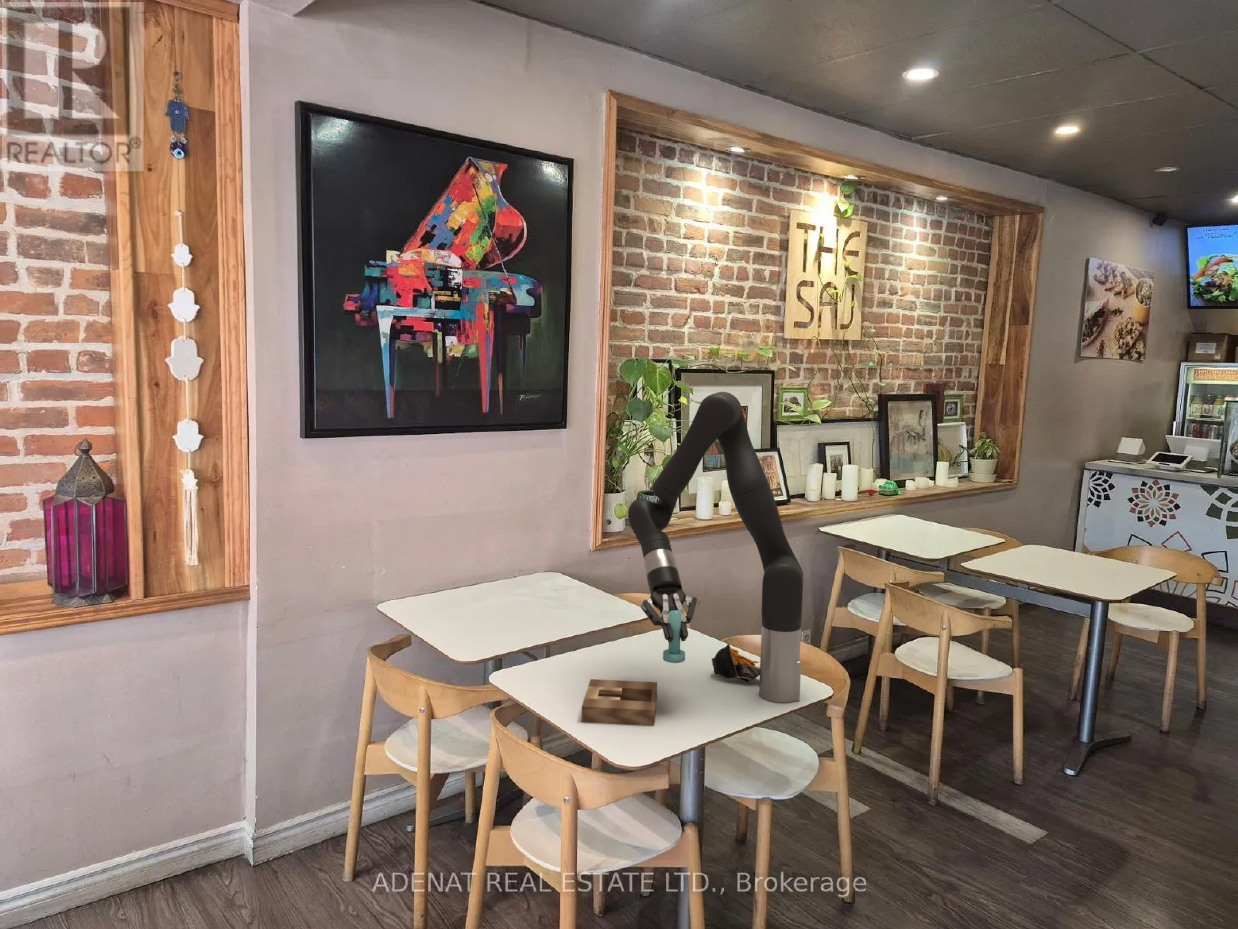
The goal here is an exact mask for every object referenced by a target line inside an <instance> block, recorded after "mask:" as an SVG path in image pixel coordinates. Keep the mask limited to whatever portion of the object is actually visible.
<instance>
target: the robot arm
mask: <svg viewBox="0 0 1238 929" xmlns="http://www.w3.org/2000/svg"><path fill="white" fill-rule="evenodd" d="M743 411H744V410H743V408H742V405H741V402H740V401H739V399H738V398H737V397H736V396H735V395H734V394H733V393H730V392H727V391H719V392H715V393H712V394H710V395H707V396H706V397H705V398H703V400H702V401H701V402H700V405H699V406H698V408H697V410H696V413H695V415H694V418H693V419H692V422H691V424H690V426H689V428H688V430H687V432H686V433H685V435H684V436H683V439H682V441H681V442H680V444H679V445H678V447H677V449H676V450H675V451H674V453H673V454H672V456H671V457H670V459H669V460H668V461H667V463H666V464H665V465H664V467H663V469H662V470H661V472H660V473H659V474H658V476H657V477H656V478H655V481H654V482H653V484H652V486H651V490H652V492H653V494H654V495H655V496H656V497H657V498H658V501H657V502H654V501H652V500H649V499H644V498H636V499H635V500H633V501H632V502H631V503H630V505H629V506H628V510H627V520H628V522H629V523H628V524H629V525H630V527H631V530H632V532H633V534H634V536H635V537H636V539H637V541H638V542H639V545H640V548H641V552H642V556H643V561H644V570H645V577H646V580H647V584H648V589H649V595H650V597H649V599H644V600H643V601H642V603H641V605H640V609H641V610H642V611H643V613H644V615H646V617H647V618H648V619H649V621H650V622H651V623H652V624H653V626H656V627H657V626H659V627H661V628H662V630H663V632H662V633H663V636H664V639H665V641H667V642H668V643H669V642H672V640H673V634H672V629H671V625H670V623H669V614H670V611H671V610H678V611H681V634H680V642H686V640H687V638H688V637H689V631H688V626H687V624H690V623H691V621H692V620H693V619H694V614H695V610H696V607H697V602H698V598H697V596H693V597H690V596H687V594H686V593H685V591H683V586H682V581H681V577H680V573H679V570H678V566H677V562H676V559H675V556H674V554H673V548H672V544H671V541H670V539H669V536H668V534H666V533H665V532H664V531H663V530H665V528H666V527H667V526H668V525H669V523H670V522H671V520H672V516H673V513H674V511H675V508H676V506H677V502H678V499H679V497H680V496H681V494H682V493H683V492H684V491H685V489H686V488H687V486H688V484H689V483H690V481H691V480H692V478H693V477H694V475H695V473H696V471H697V469H698V467H699V465H700V463H701V461H702V459H703V457H704V456H705V454H706V453H707V451H708V450H709V448H711V446H712V445H713V444H714V443H715V441H717V440H718V442H719V445H720V448H721V450H722V453H723V458H724V463H725V473H726V481H727V484H728V489H729V492H730V495H731V499H732V501H733V503H734V506H735V509H736V512H737V513H738V516H739V517H740V519H741V521H742V523H743V525H744V526H745V528H746V530H747V531H748V532H749V534H750V536H751V537H752V539H753V542H754V543H755V546H756V547H757V548H756V549H757V550H758V554H759V557H760V560H761V564H762V568H763V569H762V570H763V577H762V585H761V586H762V589H761V629H760V630H761V631H760V632H761V634H760V635H761V636H760V655H759V656H760V657H759V658H760V661H759V663H760V664H759V667H760V675H759V682H758V683H759V684H758V687H759V690H758V694H759V697H761V698H762V699H765V700H766V701H770V702H774V703H783V704H784V703H785V704H786V703H792V702H799V701H800V698H801V697H800V696H801V695H800V693H801V675H802V674H801V673H802V671H801V670H802V661H801V659H800V658H801V640H802V639H801V637H802V620H803V616H802V614H803V594H804V572H803V568H802V567H801V564H800V563H799V561H798V558H797V557H796V556H795V553H794V551H793V550H792V548H791V545H790V543H789V541H788V539H787V537H786V534H785V531H784V526H783V523H782V519H781V516H780V512H779V509H778V506H777V503H776V500H775V497H774V494H773V491H772V488H771V486H770V483H769V481H768V479H767V476H766V474H765V472H764V469H763V466H762V464H761V461H760V459H759V456H758V455H757V452H756V450H755V447H754V446H753V443H752V440H751V437H750V433H749V430H748V427H747V423H746V418H745V415H744V412H743ZM684 602H685V605H686V607H687V611H686V615H685V614H684V607H683V605H684ZM654 607H655V608H656V609H657V611H659V613H658V612H657V611H656V609H655V608H654Z"/></svg>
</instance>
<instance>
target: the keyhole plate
mask: <svg viewBox="0 0 1238 929" xmlns="http://www.w3.org/2000/svg"><path fill="white" fill-rule="evenodd" d="M657 699H658V681H642V680H641V681H640V680H637V681H635V680H621V679H620V680H616V679H597V678H595V679H594V678H593V679H592V678H590V680H589V683H588V686H587V690H586V692H585V695H584V699H583V700H582V701H583V702H582V705H581V722H582V723H596V722H598V724H599V723H600V724H615V723H616V724H617V725H619V724H620V725H636V726H638V725H640V726H655V720H656V710H657Z"/></svg>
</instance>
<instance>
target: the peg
mask: <svg viewBox="0 0 1238 929" xmlns="http://www.w3.org/2000/svg"><path fill="white" fill-rule="evenodd" d="M668 616H669V623H670V625H671V629H672V634H673V640H672V642H668V648H667V649H665V650H663V651H662V660H663V661H664V662H667V663H670V664H679V663H684V662H685V661H686V652H685V650H684V649H683V650H682V649H681V638H680V634H681V611H678V610H671V611H670V613H668Z"/></svg>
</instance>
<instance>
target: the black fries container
mask: <svg viewBox="0 0 1238 929" xmlns="http://www.w3.org/2000/svg"><path fill="white" fill-rule="evenodd" d="M759 663H760V661H757V660H752V659H750V658H748V657H746V656H744V655H741V654H739V650H738V649H736V648H731V645H730V643H727V645H726V646H725V647H723V648H721V649H719V650H718V651H717V652H716V654H715V656H714V657H713V658H711V664H712V667H713V674H714V675H715V676H717V675H719V676H722V677H724V678H726V679H727V678H729V679H737V680H738V681H742V682H745V681H746V682H745V683H747V682H751V680H753V679H754V680H755V679H756V678H758V677H760V666H757V665H756V664H759Z"/></svg>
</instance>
